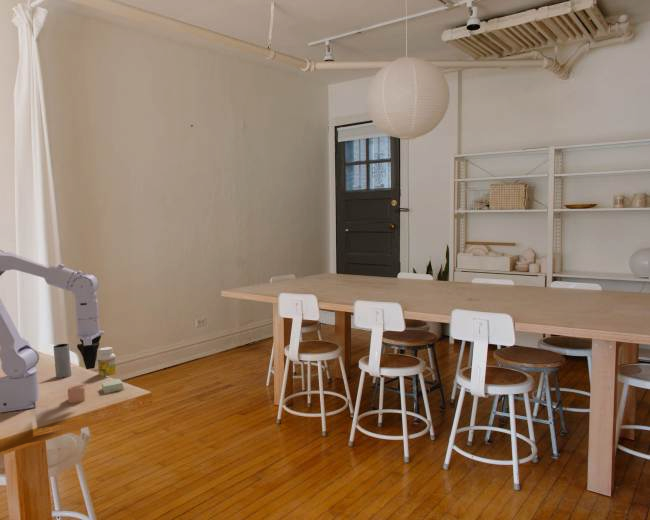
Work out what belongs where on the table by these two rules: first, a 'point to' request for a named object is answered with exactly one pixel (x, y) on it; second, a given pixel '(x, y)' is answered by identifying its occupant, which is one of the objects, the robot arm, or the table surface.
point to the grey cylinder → (62, 360)
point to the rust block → (76, 393)
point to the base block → (111, 392)
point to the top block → (112, 386)
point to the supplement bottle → (107, 362)
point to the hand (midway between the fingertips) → (91, 364)
